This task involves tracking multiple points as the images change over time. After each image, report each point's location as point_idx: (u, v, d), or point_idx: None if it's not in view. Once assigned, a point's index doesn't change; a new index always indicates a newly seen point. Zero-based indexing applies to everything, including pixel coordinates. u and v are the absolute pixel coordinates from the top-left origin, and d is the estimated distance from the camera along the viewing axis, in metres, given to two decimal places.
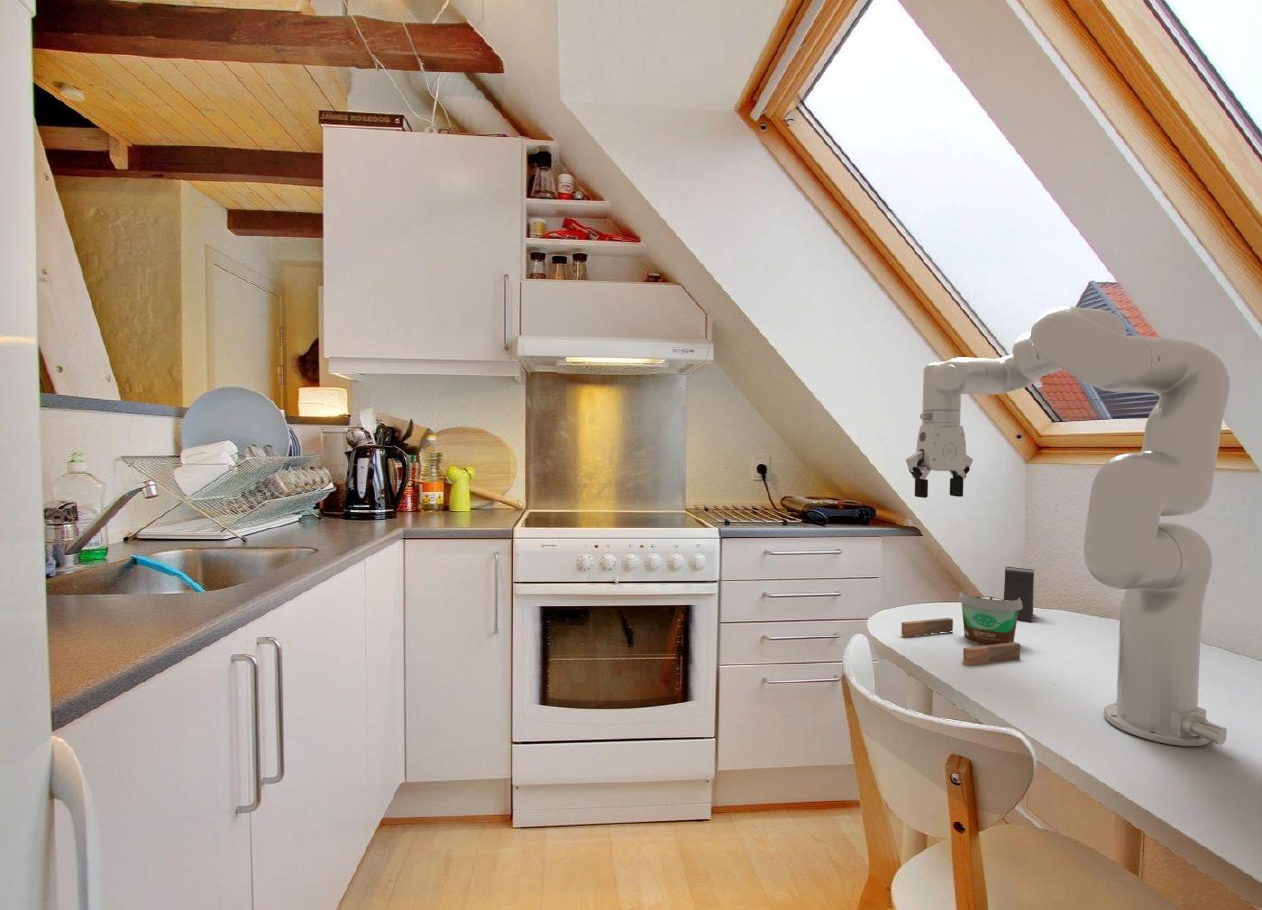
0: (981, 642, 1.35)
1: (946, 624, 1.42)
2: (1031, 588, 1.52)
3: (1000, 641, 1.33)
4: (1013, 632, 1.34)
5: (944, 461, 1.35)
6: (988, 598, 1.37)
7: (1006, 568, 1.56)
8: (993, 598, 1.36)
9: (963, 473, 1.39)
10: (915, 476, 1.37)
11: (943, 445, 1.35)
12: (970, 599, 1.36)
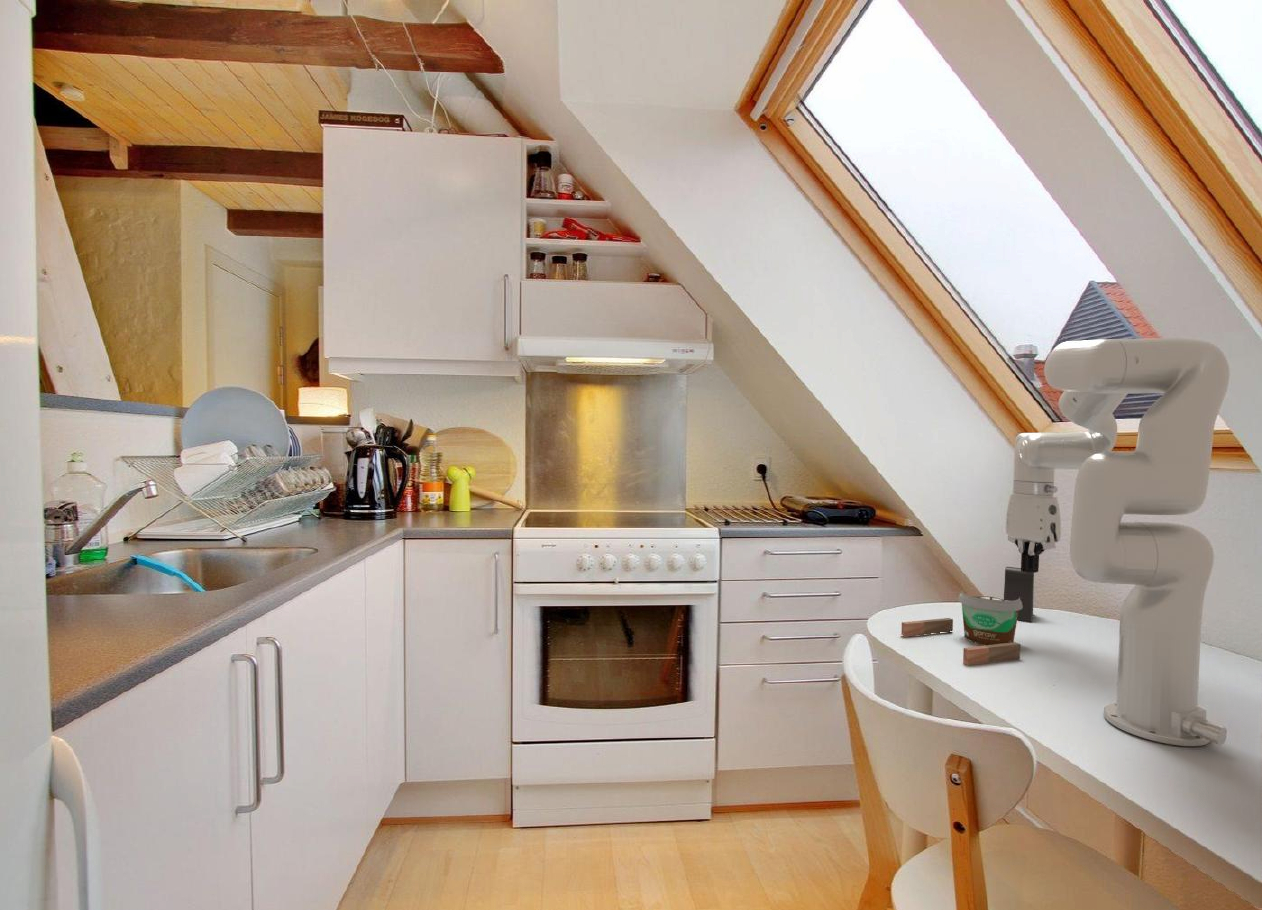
0: (981, 642, 1.35)
1: (946, 624, 1.42)
2: (1031, 588, 1.52)
3: (1000, 641, 1.33)
4: (1013, 632, 1.34)
5: None
6: (988, 598, 1.37)
7: (1006, 568, 1.56)
8: (993, 598, 1.36)
9: None
10: (1038, 553, 1.36)
11: None
12: (970, 599, 1.36)
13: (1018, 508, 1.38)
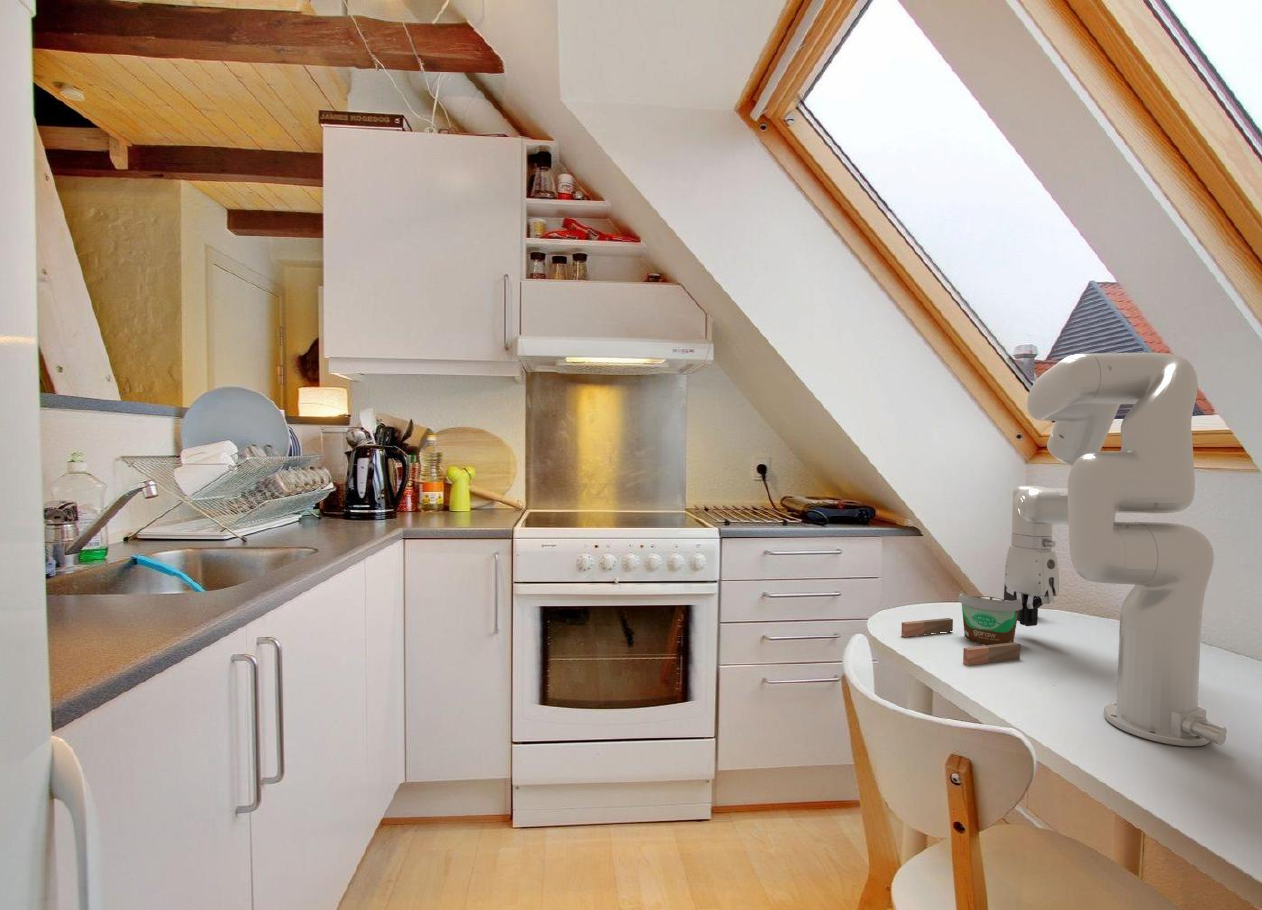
0: (981, 642, 1.35)
1: (946, 624, 1.42)
2: None
3: (1000, 641, 1.33)
4: (1013, 632, 1.34)
5: None
6: (988, 598, 1.37)
7: None
8: (993, 598, 1.36)
9: None
10: (1036, 606, 1.36)
11: None
12: (970, 599, 1.36)
13: (1016, 561, 1.38)
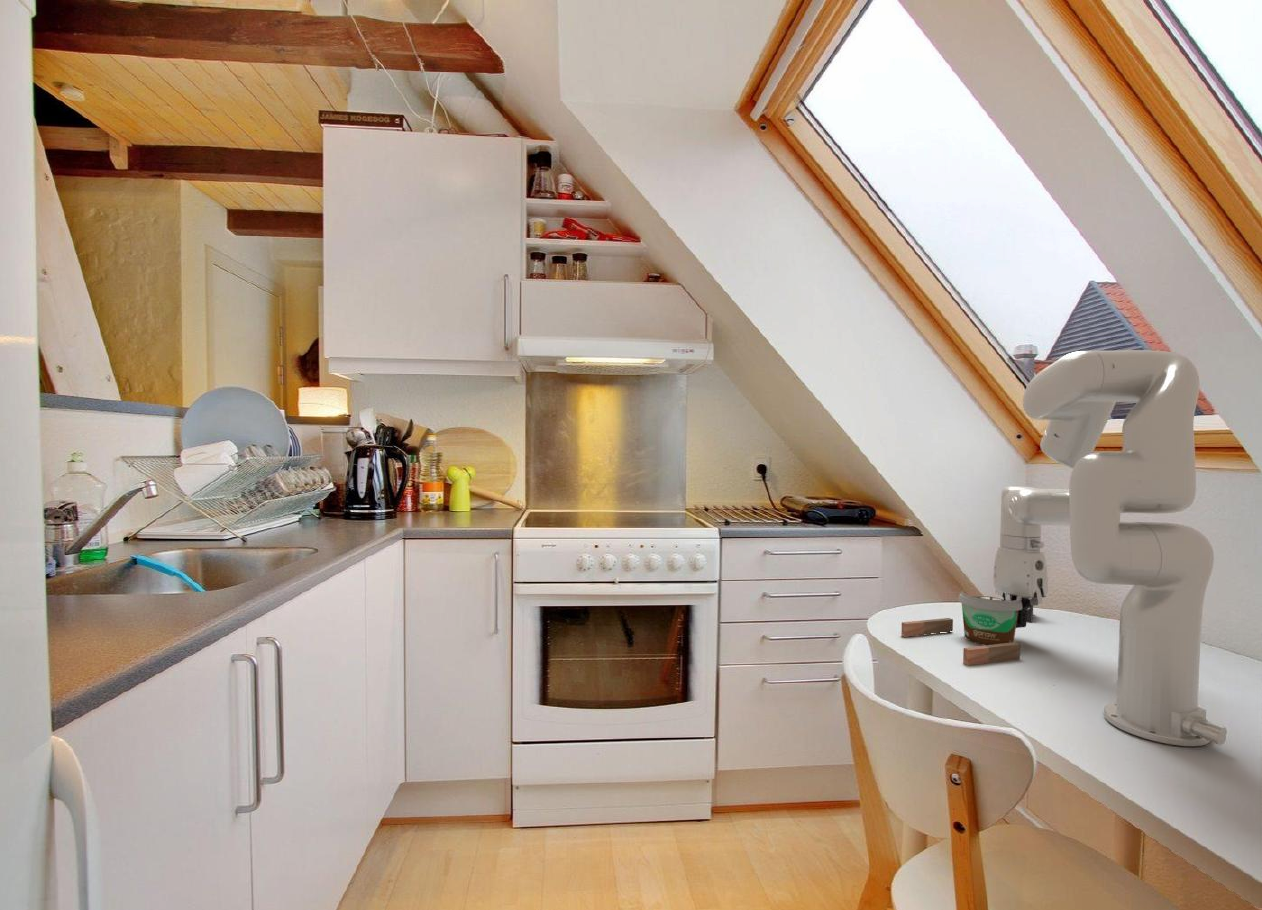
0: (981, 642, 1.35)
1: (946, 624, 1.42)
2: None
3: (1000, 641, 1.33)
4: (1013, 632, 1.34)
5: None
6: (988, 598, 1.37)
7: None
8: (993, 598, 1.36)
9: None
10: (1025, 608, 1.35)
11: None
12: (970, 599, 1.36)
13: (1005, 562, 1.38)
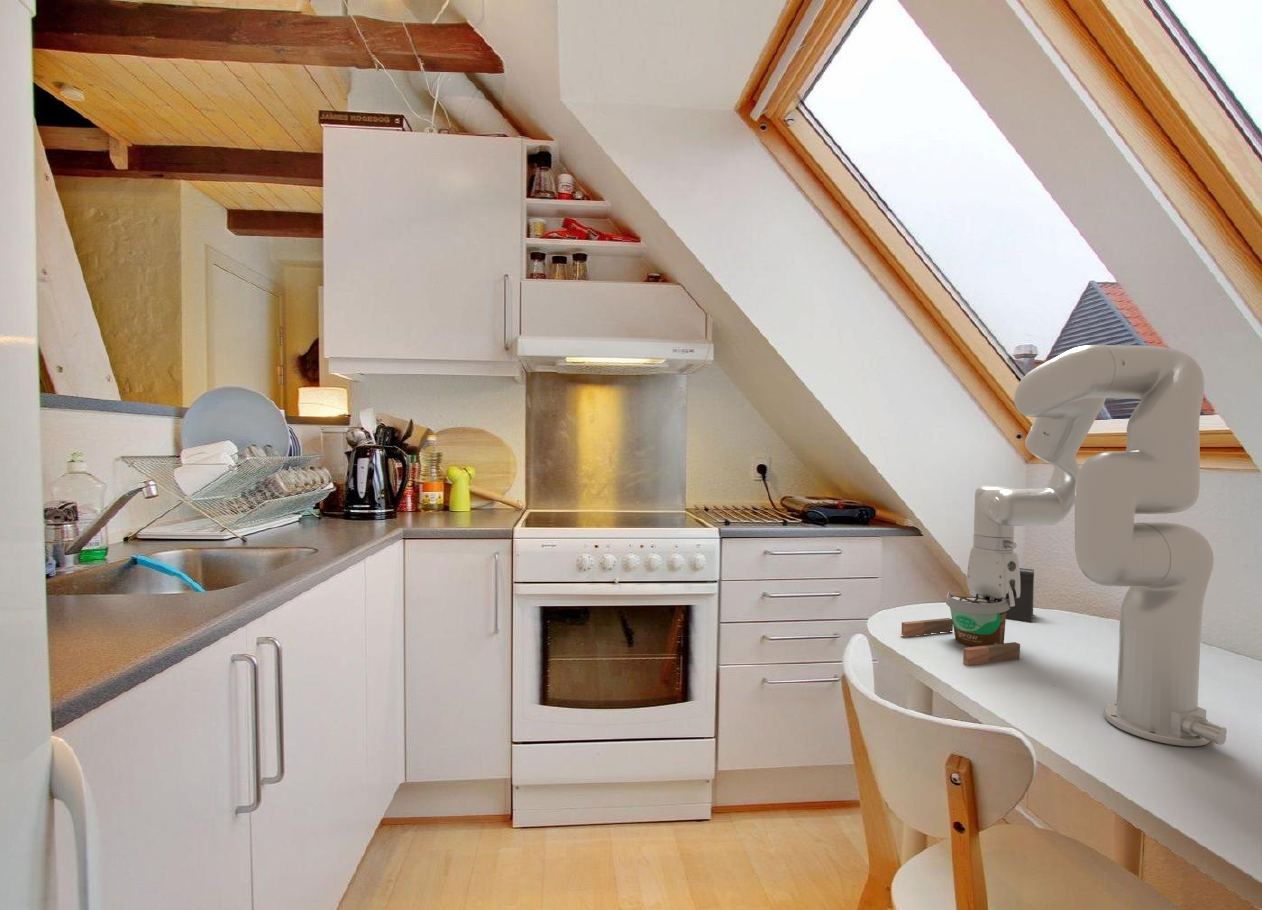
0: (964, 643, 1.34)
1: (946, 624, 1.42)
2: (1031, 588, 1.52)
3: (982, 643, 1.31)
4: (999, 634, 1.31)
5: None
6: (973, 599, 1.34)
7: None
8: (979, 599, 1.34)
9: None
10: None
11: None
12: (951, 600, 1.35)
13: (978, 562, 1.36)
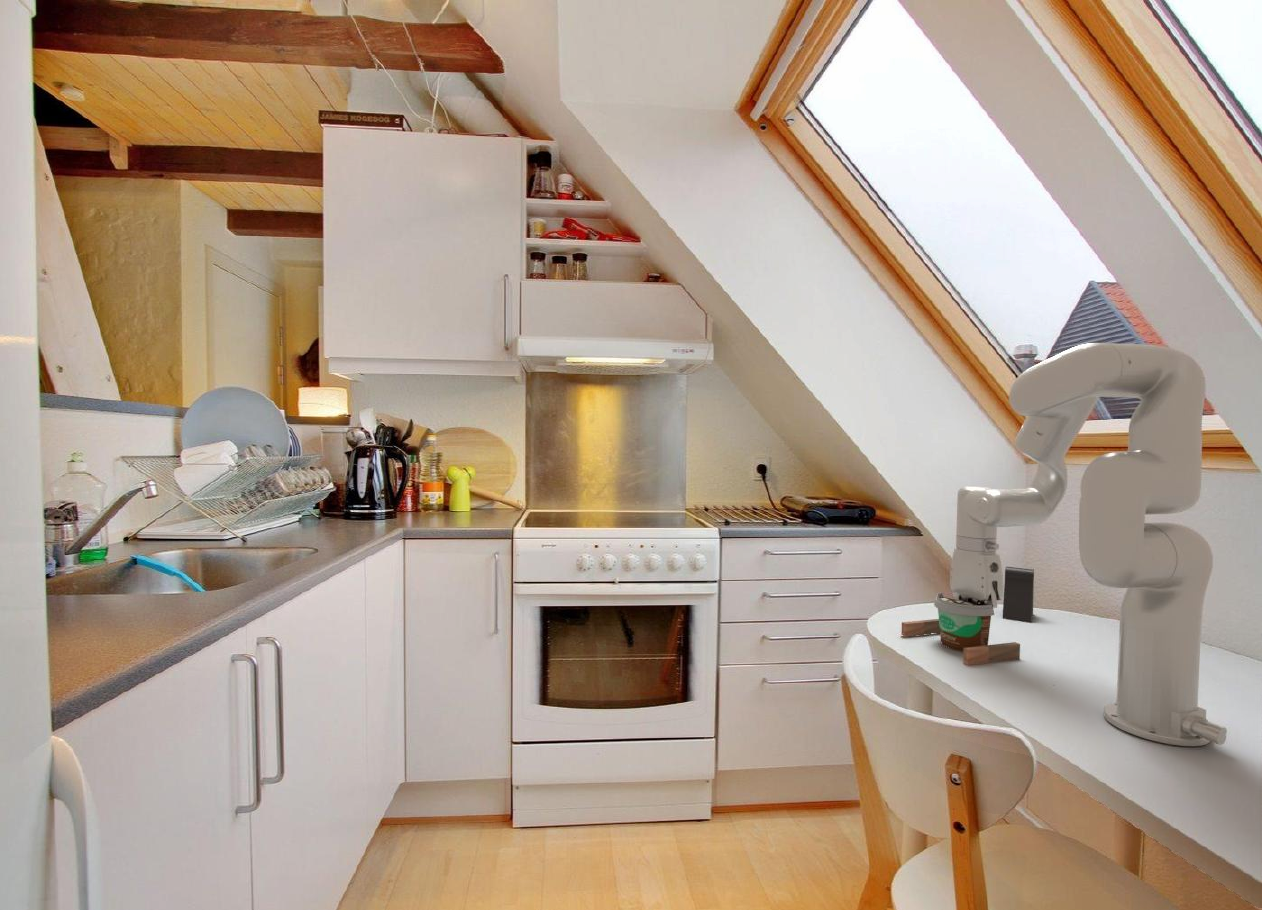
0: (945, 644, 1.33)
1: None
2: (1031, 588, 1.52)
3: (960, 645, 1.30)
4: (979, 639, 1.29)
5: None
6: (960, 601, 1.33)
7: (1006, 568, 1.56)
8: (965, 602, 1.32)
9: None
10: None
11: None
12: (936, 600, 1.35)
13: (960, 564, 1.34)
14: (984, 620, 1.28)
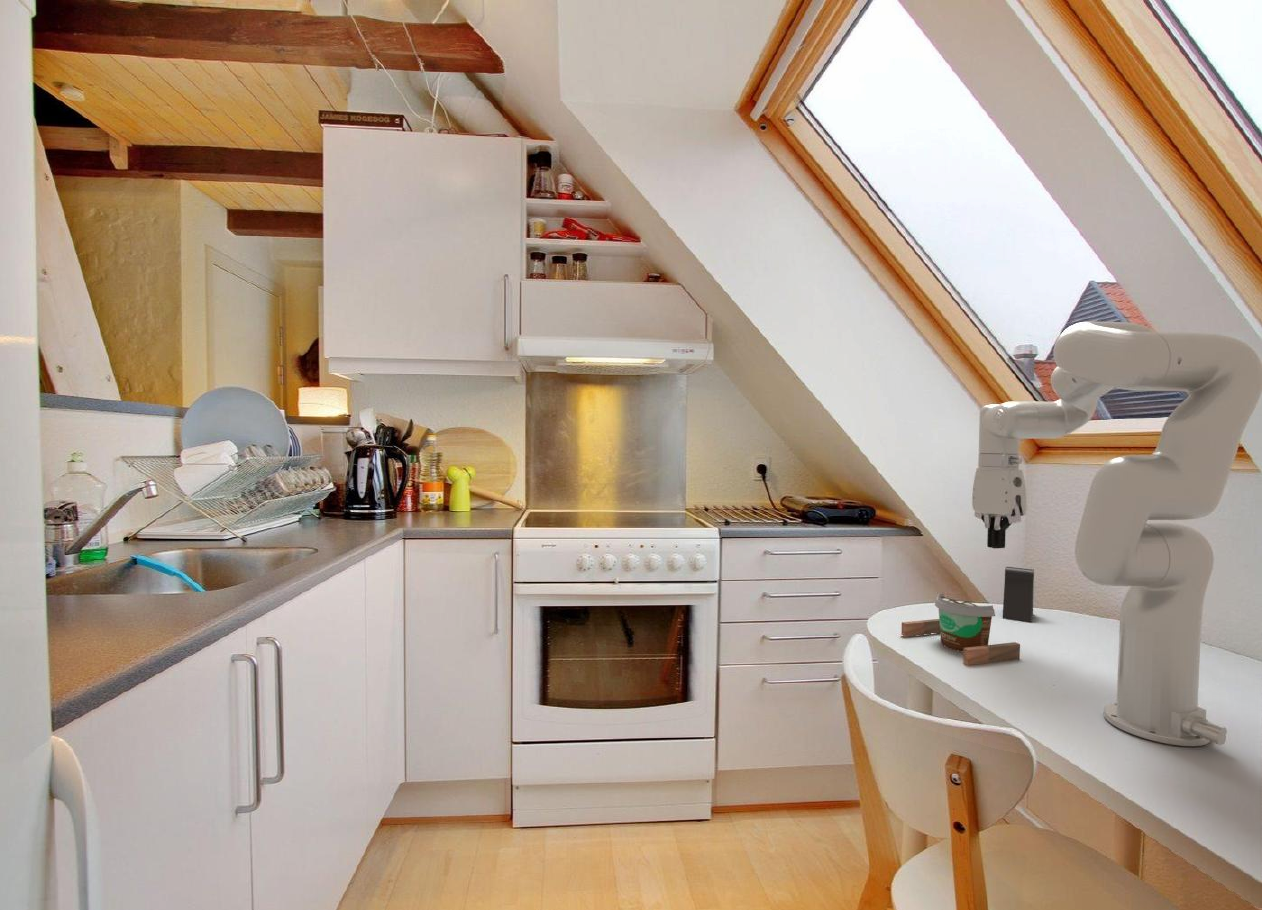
0: (945, 644, 1.33)
1: None
2: (1031, 588, 1.52)
3: (960, 645, 1.30)
4: (979, 640, 1.29)
5: None
6: (961, 602, 1.33)
7: (1006, 568, 1.56)
8: (966, 603, 1.32)
9: None
10: (1004, 527, 1.33)
11: None
12: (937, 600, 1.35)
13: (983, 482, 1.35)
14: (985, 621, 1.28)
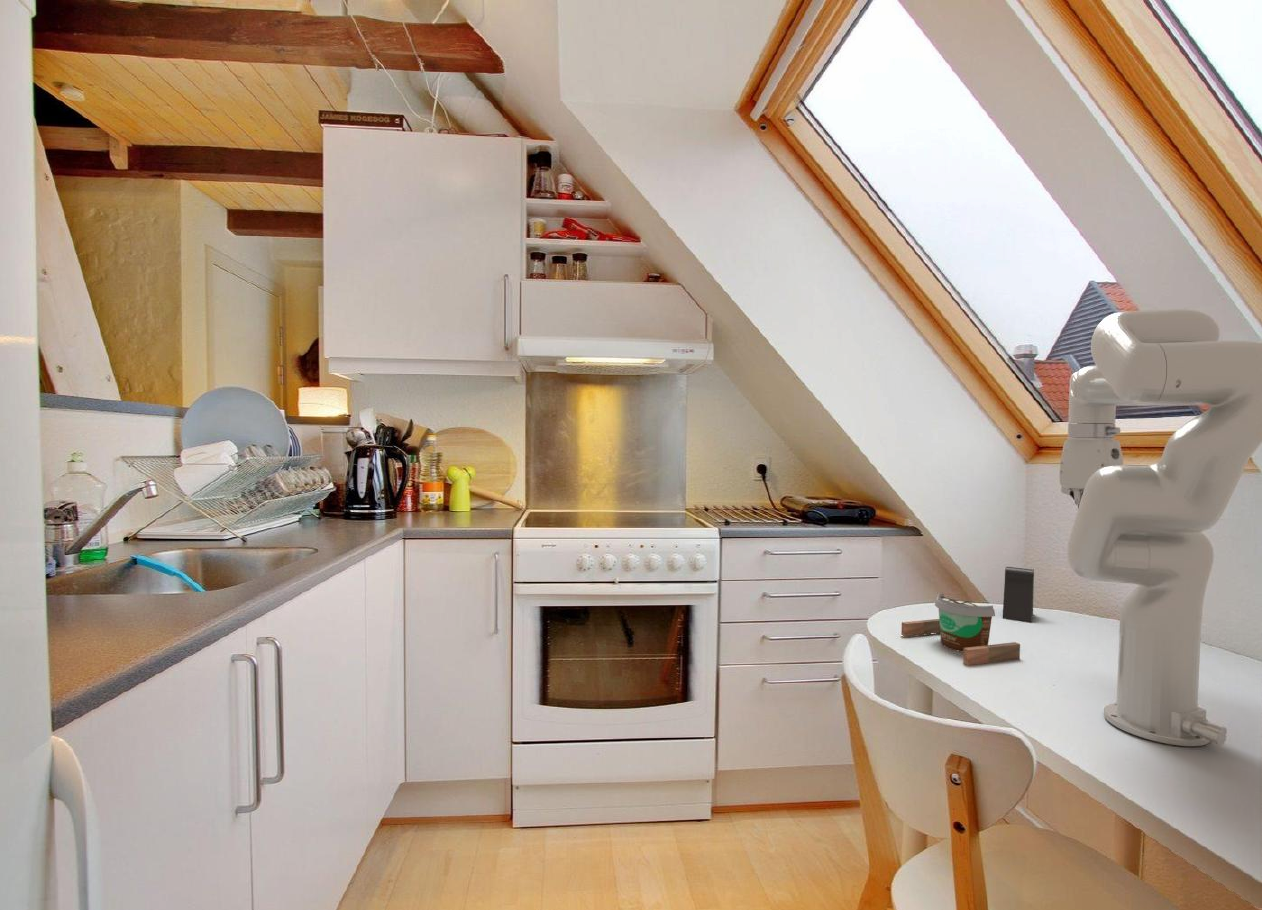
0: (945, 644, 1.33)
1: None
2: (1031, 588, 1.52)
3: (960, 645, 1.30)
4: (979, 640, 1.29)
5: None
6: (961, 602, 1.33)
7: (1006, 568, 1.56)
8: (966, 603, 1.32)
9: None
10: None
11: None
12: (937, 600, 1.35)
13: (1074, 454, 1.25)
14: (985, 621, 1.28)
